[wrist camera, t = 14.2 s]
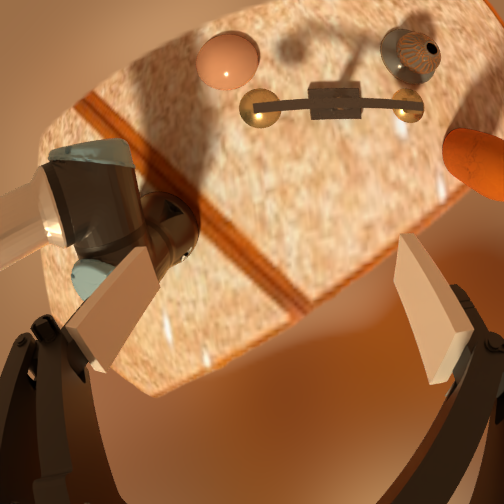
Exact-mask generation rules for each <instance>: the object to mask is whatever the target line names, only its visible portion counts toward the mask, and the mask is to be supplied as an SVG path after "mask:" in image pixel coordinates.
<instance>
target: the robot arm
mask: <svg viewBox="0 0 504 504" xmlns="http://www.w3.org/2000/svg"><path fill="white" fill-rule="evenodd" d="M48 160H49V161H50V162H49V163H46V164H44V165H41V166H39V167H38V168H37V170H36V172H35V174H34V176H33V178H32V180H31V181H30V182H29V183H27V184H25V185H23V186H21V187H19V188H17V189H15V190H13V191H11V192H9V193H7V194H5V195H3V196H1V197H0V271H2V270H3V269H5V268H7V267H8V266H10V265H12V264H13V263H15V262H17V261H19V260H20V259H22V258H24V257H26V256H27V255H29V254H31V253H33V252H35V251H36V250H38V249H40V248H42V247H44V246H46V245H48V244H53V245H56V246H58V247H60V248H63V249H64V248H67V247H69V246H71V245H73V244H74V247H75V250H76V253H77V255H78V258H79V260H78V261H77V262H76V263H75V264H74V267H73V269H72V274H71V280H72V283H73V286H74V288H75V290H76V292H77V293H78V295H79V296H80V297H81V298H82V300H83V301H84V302H83V303H82V304H81V307H79V308H78V309H77V310H76V312H75V313H74V314H73V315H72V316H71V318H70V319H69V320H68V321H67V322H66V324H65V325H64V326H63V327H62V329H61V330H60V328H59V327H58V325H57V323H56V322H55V320H54V318H53V317H52V316H51V315H48V314H46V315H43V316H41V317H39V318H38V319H37V320H36V321H35V322H34V323H33V324H32V326H31V328H30V329H31V330H32V332H33V333H34V335H35V336H36V338H37V339H38V340H35V339H34V338H33V336H32V335H31V334H30V333H24V334H21V335H19V336H18V338H17V339H16V340H15V342H14V343H13V346H12V348H11V351H10V353H9V356H8V358H7V361H6V363H5V366H4V368H3V371H2V374H1V377H0V504H127V503H126V502H125V501H124V500H123V499H122V498H121V496H120V495H119V493H118V490H117V488H116V485H115V482H114V479H113V476H112V473H111V470H110V466H109V463H108V460H107V457H106V453H105V450H104V446H103V442H102V438H101V434H100V430H99V426H98V421H97V417H96V412H95V407H94V402H93V396H92V390H91V384H90V377H89V371H88V369H87V368H86V364H87V363H88V362H89V363H90V364H91V365H92V367H93V368H94V370H97V371H100V372H103V373H107V371H108V370H109V368H110V366H111V365H112V363H113V361H114V360H115V358H116V356H117V355H118V353H119V351H120V350H121V348H122V346H123V345H124V343H125V342H126V340H127V338H128V337H129V335H130V334H131V332H132V330H133V329H134V327H135V326H136V324H137V322H138V321H139V319H140V318H141V316H142V315H143V313H144V312H145V310H146V308H147V307H148V305H149V304H150V302H151V301H152V299H153V298H154V296H155V295H156V293H157V292H158V290H159V289H160V285H159V282H160V281H161V279H162V278H163V276H164V275H165V273H166V272H167V270H168V269H169V268H170V267H172V266H174V265H176V264H178V263H180V262H182V261H184V260H185V259H186V258H187V257H188V256H189V255H190V254H191V252H192V251H193V249H194V248H195V246H196V243H197V240H198V225H197V221H196V219H195V216H194V214H193V213H192V211H191V210H190V208H189V207H188V206H187V205H186V204H185V203H184V202H183V201H182V200H181V199H179V198H178V197H176V196H174V195H172V194H169V193H165V192H152V193H149V194H146V195H145V196H143V197H142V198H140V194H139V189H138V184H137V179H136V174H135V165H134V164H133V161H132V157H131V152H130V148H129V145H128V143H127V142H126V141H125V140H123V139H120V138H112V139H103V140H96V141H90V142H84V143H79V144H74V145H71V146H66V147H61V148H57V149H54V150H51V151H50V153H49V157H48ZM394 284H395V286H396V288H397V291H398V293H399V295H400V298H401V301H402V303H403V306H404V308H405V311H406V314H407V316H408V319H409V322H410V324H411V327H412V330H413V333H414V335H415V339H416V341H417V344H418V348H419V350H420V354H421V357H422V360H423V363H424V367H425V369H426V373H427V377H428V380H429V384H430V385H432V384H437V383H442V382H446V381H447V380H448V379H449V377H450V375H451V373H452V372H453V374H454V377H455V381H454V383H453V384H452V386H451V388H450V389H449V391H448V392H447V394H446V395H445V396H447V397H446V399H445V401H444V403H443V405H442V407H441V409H440V411H439V413H438V415H437V417H436V418H435V420H434V422H433V424H432V425H431V427H430V429H429V431H428V432H427V434H426V436H425V437H424V439H423V441H422V442H421V444H420V445H419V447H418V449H417V450H416V452H415V453H414V455H413V456H412V458H411V459H410V461H409V462H408V463H407V465H406V466H405V468H404V469H403V471H402V472H401V473H400V475H399V476H398V477H397V478H396V480H395V481H394V482H393V484H392V485H391V486H390V487H389V489H388V490H387V491H386V493H385V494H384V495H383V496H382V497H381V498H380V500H379V501H378V502H377V503H376V504H447V503H448V501H449V500H450V498H451V496H452V495H453V493H454V491H455V490H456V488H457V486H458V485H459V483H460V481H461V479H462V477H463V475H464V473H465V472H466V470H467V468H468V466H469V464H470V462H471V459H472V458H473V456H474V453H475V451H476V449H477V447H478V444H479V442H480V440H481V437H482V435H483V433H484V430H485V427H486V425H487V422H488V419H489V417H490V420H489V427H488V433H487V440H486V445H485V450H484V455H483V459H482V463H481V467H480V471H479V475H478V478H477V482H476V485H475V488H474V492H473V494H472V498H471V500H470V503H469V504H504V339H503V338H502V337H501V336H500V335H498V334H497V333H494V332H489V331H488V329H487V327H486V325H485V324H484V322H483V320H482V318H481V317H480V315H479V313H478V312H477V310H476V308H474V305H473V303H472V302H471V301H470V298H469V297H468V295H467V294H466V292H465V291H464V290H463V289H461V288H460V287H459V286H458V285H457V284H454V285H449V284H448V283H447V281H446V280H445V278H444V276H443V275H442V273H441V272H440V270H439V269H438V267H437V266H436V264H435V263H434V261H433V260H432V258H431V257H430V256H429V254H428V253H427V251H426V250H425V248H424V247H423V246H422V244H421V243H420V241H419V240H418V238H417V237H416V236H415V234H414V233H408V234H400V237H399V246H398V254H397V261H396V268H395V275H394ZM28 370H30V371H31V372H32V374H33V375H34V376H35V378H34V380H32V379H31V378H30V377H29V375H28V374H27V373H28Z"/></svg>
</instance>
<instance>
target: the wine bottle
mask: <svg viewBox="0 0 504 504" xmlns="http://www.w3.org/2000/svg"><path fill="white" fill-rule="evenodd" d="M442 155H443V160H444V164H445V166H446V168H447V169H448V171H449V172H450V173H451V174H452V175H453V176H455V177H456V178H457V179H459V180H460V181H462V182H463V183H465V184H466V185H467V186H469V187H470V188H472V189H473V190H475V191H476V192H478V193H480V194H481V195H483V196H485V197H487V198H489V199H492V200H496V201H504V140H502V139H500V138H498V137H496V136H493V135H490V134H487V133H483V132H480V131H476V130H471V129H466V128H458V129H455V130H453V131H451V132H450V133H449V134H448V135H447V137H446V139H445V141H444V144H443V149H442Z"/></svg>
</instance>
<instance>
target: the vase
mask: <svg viewBox="0 0 504 504" xmlns="http://www.w3.org/2000/svg"><path fill="white" fill-rule="evenodd" d="M396 54H397V57H398V59H399V61H400V63H401V64H402V65H403V66H404V67H405V68H406V69H408V70H410V71H412V72H414V73H418V74H427V73H430V72H432V71H434V70H435V69H436V68H437V67H438V66H439V64H440V61H441V53H440V50H439V47H438V46H437V44H436V43H435V42H434V41H433V40H432V39H431V38H430V37H428V36H426V35H424V34H421V33H408V34H405V35H404V36H402V37H401V38H400V39H399V40H398V42H397V45H396Z"/></svg>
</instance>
